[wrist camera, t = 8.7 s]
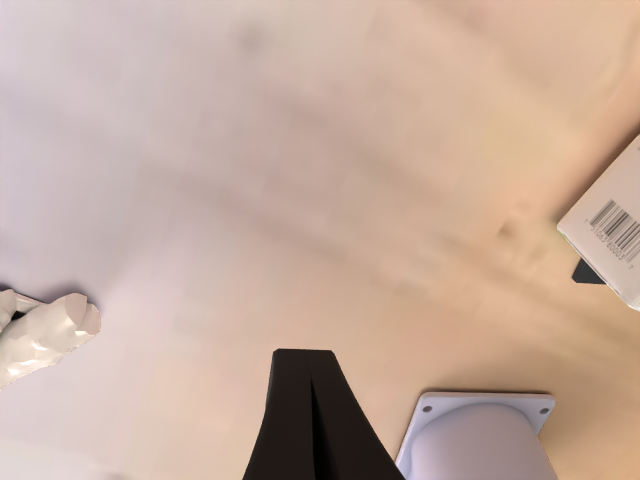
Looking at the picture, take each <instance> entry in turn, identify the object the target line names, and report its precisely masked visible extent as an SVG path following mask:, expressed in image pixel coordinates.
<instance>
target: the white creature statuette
mask: <svg viewBox="0 0 640 480" xmlns="http://www.w3.org/2000/svg"><path fill="white" fill-rule="evenodd" d="M16 310H17V311H20V312H23V313H26V315H24V316H23V317H22V318H19V319H16V320H11V317H12V316H13V314H14V313H15V311H16ZM100 328H101V318H100V314H99V312H98V310H97V308H96V307H95V306H94V305H93V304H89V303H87V296H83V295H81V294H78V293H72V294H69V295H66V296H63V297H60V298H58V299H56V300H55V301H54V302H52V303H50V304H46V303H42V302H39V301H36V300H33V299H31V298H28V297H25V296H22V295H20V294H17V293H15V292H14V291H13V289H8V290H6V291H2V292H1V291H0V390H1V389H2V388H4V387H5V386H7V385H9V384H11V383H12V382H13V381H15V380H17V379H18V378H20V377H22V376H23V375H26V374H30V373H31V372H32V371H34V370H36V369H40V368H43V367H45V366H51V365H54V364H56V363H59V362H60V361H61V359H62V358H63V356H64V355H65V354H67V353H69V352H71V351H73V350H75V349H76V347H77V346H79V345H82V344H84V343H86V342H87V341H89V340H90V339H91V338H93V337H94V336H95V335H97V334H98V332H99V331H100Z"/></svg>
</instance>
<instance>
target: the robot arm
mask: <svg viewBox="0 0 640 480" xmlns="http://www.w3.org/2000/svg"><path fill="white" fill-rule="evenodd" d="M555 404H556V401H555V399H554V397H553V396H552V395H548V394H509V393H466V392H426V393H424V394H422V395H421V397H420V398H419V401H418V404H417V406H416V409H415V412H414V414H413V417H412V420H411V422H410V425H409V428H408V430H407V433H406V436H405V438H404V441H403V444H402V446H401V449H400V451H399V454H398V457H397V459H396V462H395V463H394V461H393V460H392V458H391V457H390V455H389V454H388V452H387V451H386V449H385V448H384V446H383V445H382V443H381V441H380V440H379V438H378V437H377V435H376V433H375V432H374V430H373V428H372V426H371V425H370V423H369V421H368V420H367V418H366V416H365V414H364V413H363V411H362V409H361V407H360V406H359V404H358V402H357V400H356V398H355V396H354V394H353V392H352V390H351V388H350V387H349V385H348V383H347V380H346V378H345V376H344V374H343V372H342V370H341V368H340V366H339V363H338V361H337V359H336V356H335V354H334V353H333V352H332V351H331V350H306V349H277V350H276V351H274V352H273V357H272V364H271V371H270V378H269V385H268V392H267V399H266V409H265V414H264V418H263V421H262V425H261V428H260V432H259V435H258V437H257V440H256V443H255V446H254V449H253V452H252V455H251V458H250V461H249V464H248V466H247V469H246V471H245V474H244V477H243V479H242V480H559V479H558V477H557V475H556V473H555V471H554V469H553V467H552V465H551V463H550V461H549V459H548V457H547V455H546V453H545V451H544V449H543V447H542V445H541V443H540V441H539V439H538V437H537V435H538V434H539V432H540V430H541V428H542V427H543V425H544V423H545V422H546V420H547V418H548V417H549V415H550V413H551V411H552V410H553V408H554V406H555Z"/></svg>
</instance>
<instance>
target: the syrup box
mask: <svg viewBox="0 0 640 480" xmlns="http://www.w3.org/2000/svg"><path fill="white" fill-rule="evenodd" d="M557 230H558V231H559V232H560V233H561V234H562V235H563V237H564V238H565V239H566V240H567V241H568V242H569V244H570V245H571V246H572V247H573V248H574V249H575V250H576V251H577V252H578V254H579V255H580V256H581V257H582V258H583V259H584V260H585V261H586V262H587V264H588V265H589V266H590V267H591V268H592V269H593V270H594V271H595V272H596V273H597V275H598V276H599V277H600V278H601V279H602V280H603V281H604V282H605V283H606V284H607V285H608V286H609V287H610V288H611V289H612V290H613V291H614V292H615V293H616V294H617V295H618V296H619V297H620V298H621V299H622V300H623V301H624V302H625V303H626V304H627V305H628V306H630V307H631V308H633V309H635V310H637V311H639V312H640V134H639V135H638V136H637V137H636V138H635V139H634V140H633V141H632V142H631V143H630V144H629V146H628V147H627V148H626V149H625V150H624V151H623V152H622V153H621V154H620V155H619V156H618V157H617V158H616V160H615V161H614V162H613V163H612V164H611V165H610V166H609V167H608V168H607V169H606V171H605V172H604V173H603V174H602V175H601V176H600V177H599V178H598V179H597V180H596V181H595V182H594V184H593V185H592V186H591V187H590V188H589V189H588V190H587V191H586V193H585V194H584V195H583V196H582V197H581V198H580V199H579V200H578V201H577V203H576V204H575V205H574V206H573V207H572V208H571V209H570V210H569V211H568V213H567V214H566V215H565V216H564V217H563V218H562V219H561V220H560V222H559V223H558V224H557Z"/></svg>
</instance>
